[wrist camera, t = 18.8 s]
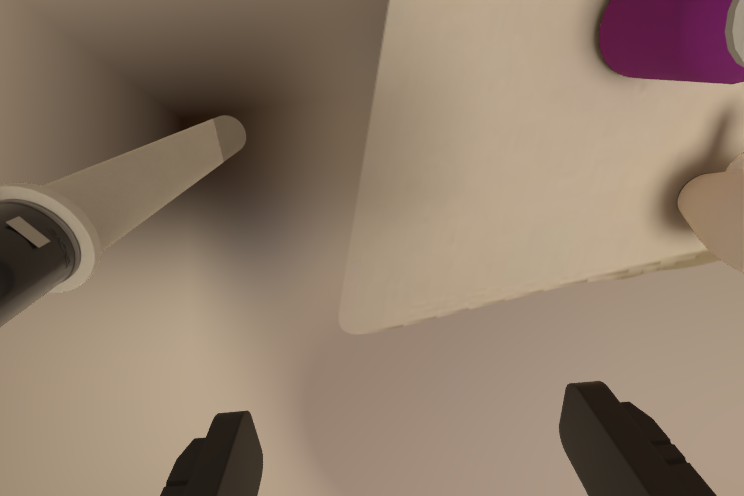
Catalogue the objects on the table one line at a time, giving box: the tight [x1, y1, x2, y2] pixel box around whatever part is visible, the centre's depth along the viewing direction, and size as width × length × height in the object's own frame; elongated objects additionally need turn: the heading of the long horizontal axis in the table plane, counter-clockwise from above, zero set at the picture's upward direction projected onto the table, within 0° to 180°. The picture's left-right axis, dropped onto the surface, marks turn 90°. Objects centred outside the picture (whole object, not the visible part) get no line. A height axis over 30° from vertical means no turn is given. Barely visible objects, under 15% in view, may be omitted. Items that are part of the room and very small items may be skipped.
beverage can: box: [599, 0, 744, 84], centre depth 25 cm, size 8×8×12 cm
